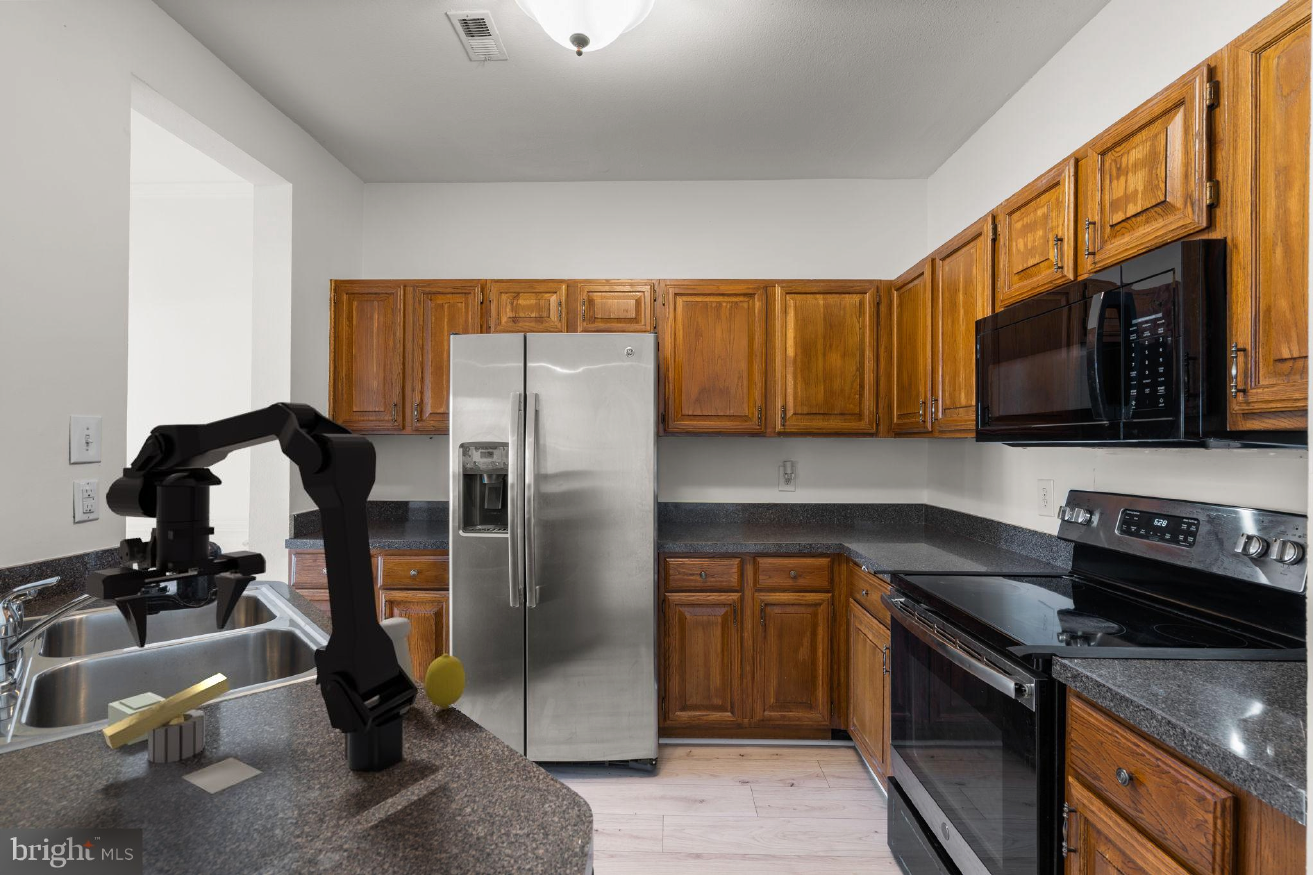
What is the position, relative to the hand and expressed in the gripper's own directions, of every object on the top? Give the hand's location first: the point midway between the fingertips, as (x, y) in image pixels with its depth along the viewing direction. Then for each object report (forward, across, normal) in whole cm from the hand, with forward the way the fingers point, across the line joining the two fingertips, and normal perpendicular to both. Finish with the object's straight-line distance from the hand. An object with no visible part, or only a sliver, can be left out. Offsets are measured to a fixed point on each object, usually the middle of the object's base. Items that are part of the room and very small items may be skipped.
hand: (182, 637), depth 86 cm
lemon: (+13, -23, +24) cm, 36 cm away
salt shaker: (+13, -19, +18) cm, 29 cm away
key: (+11, +3, +8) cm, 14 cm away
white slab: (+12, +4, +13) cm, 18 cm away
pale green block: (+13, +4, -2) cm, 13 cm away
